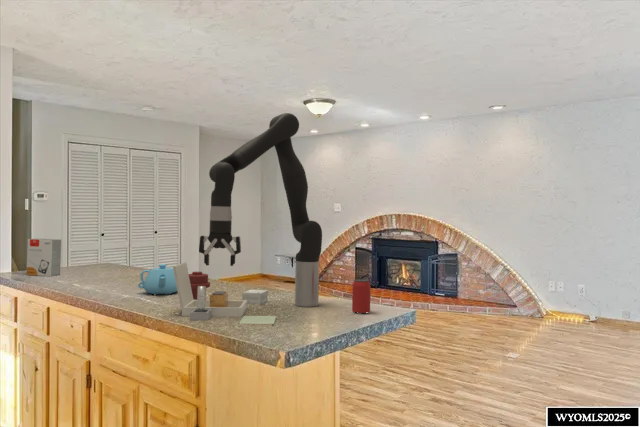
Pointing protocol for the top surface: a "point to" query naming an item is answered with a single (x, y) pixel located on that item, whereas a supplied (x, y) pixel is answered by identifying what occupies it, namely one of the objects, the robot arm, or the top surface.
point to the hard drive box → (43, 257)
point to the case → (190, 305)
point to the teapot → (159, 280)
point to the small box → (255, 296)
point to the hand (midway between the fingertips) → (219, 265)
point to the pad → (258, 320)
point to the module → (219, 299)
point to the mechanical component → (198, 282)
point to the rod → (201, 298)
